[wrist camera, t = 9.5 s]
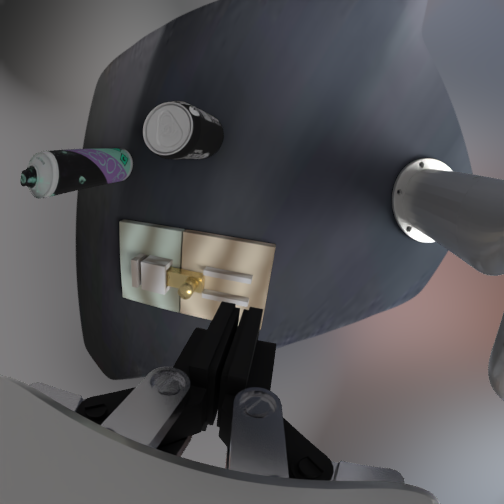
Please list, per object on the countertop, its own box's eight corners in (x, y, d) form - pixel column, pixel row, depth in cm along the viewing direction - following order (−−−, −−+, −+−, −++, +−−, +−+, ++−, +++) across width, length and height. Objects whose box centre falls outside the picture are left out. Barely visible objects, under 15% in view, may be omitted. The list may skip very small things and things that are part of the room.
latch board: (275, 244, 40) (273, 254, 35) (261, 324, 44) (258, 341, 40) (124, 219, 42) (108, 226, 38) (127, 293, 47) (113, 305, 42)
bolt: (205, 273, 41) (194, 287, 36) (204, 288, 42) (194, 302, 37) (146, 261, 42) (131, 273, 37) (146, 275, 43) (132, 287, 38)
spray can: (134, 178, 40) (39, 198, 21) (109, 184, 40) (15, 207, 22) (131, 144, 38) (33, 146, 19) (105, 152, 39) (9, 161, 20)
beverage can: (187, 164, 38) (146, 167, 27) (177, 123, 36) (134, 112, 25) (229, 151, 36) (203, 147, 25) (219, 108, 35) (188, 89, 23)
